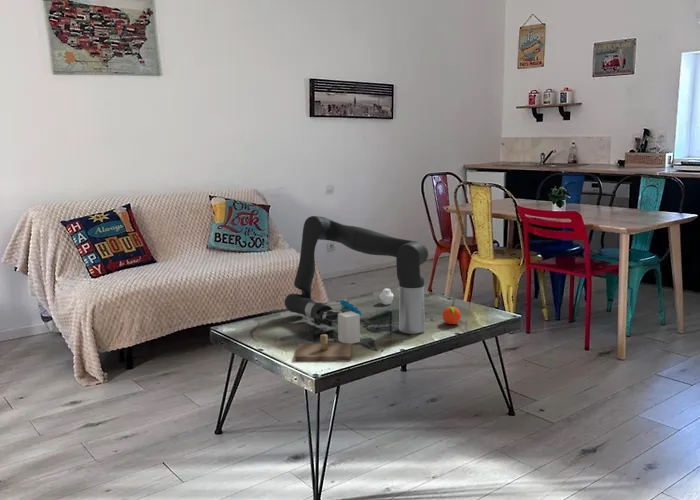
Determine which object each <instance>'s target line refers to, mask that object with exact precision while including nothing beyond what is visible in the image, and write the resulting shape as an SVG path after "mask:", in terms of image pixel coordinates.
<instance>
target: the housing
mask: <svg viewBox="0 0 700 500" xmlns="http://www.w3.org/2000/svg"><path fill="white" fill-rule="evenodd" d="M360 318H361V316H360V315H359V314H357V313H354V312H352V311H349V312H344V313H339V314H338V317H337V319H338V321H337V327H338V328H337V329H338V330H337V332H338V333H337V334H338V337H337V338H338V339H337V340H338V342H340V343H352V345H353V344H356V343H360V342H361V328H360V327H361V324H360V323H361V321H360Z"/></svg>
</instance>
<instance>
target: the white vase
mask: <svg viewBox="0 0 700 500" xmlns="http://www.w3.org/2000/svg"><path fill="white" fill-rule="evenodd" d="M394 296H395V295H394V294H393V292H392V291H391V289H390V288H383V289H382V292H381V293H380V294H379V298H380V301H381V303H382V304H383V305H385V306H386V305H390V304H392V302H393V299H394Z"/></svg>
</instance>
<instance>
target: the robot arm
mask: <svg viewBox="0 0 700 500" xmlns="http://www.w3.org/2000/svg"><path fill="white" fill-rule="evenodd" d="M301 235H302V236H301V237H302V239H301V245H300V246H301V247H300V257H299V261H298V267H297V270H296V274H295V278H294V282H293V285H294V287H295V288H296V289H298V290H300V292H301V294H299V293H289V294H288V295H286V297H285V299H284V306H285V309H287V310H288V311H289V312H291V313H295V314H299V315H303V316H305V317H306V318H309V319H310V321H311V323H313V324H314V325H317V326H321V325H323V326H328V327H333V322H335V321H336V322H338V314H339V313H344V312H348V311H345V310H343V309H342V308H340V309H339V310H333V308H332V306H331V305H329V304H327V303H323V302H321V301H318V300H315V299H313V298H312V285H313V281H314V277H315V273H316V261H315V251H316V246H317V243H318V241H319V240H321V241H328V242H329V241H330V242H335V243H340V244H342V245H343V246H345V247H347V248H348V249H350V250H353V251H355V252H358V253H362V254H366V255H371V256H387V257H388V256H389V257H393V258H395V259H396V263H395V264H396V277H397V278H396V279H397V280H398V283H399V284H398V306H399V307H398V317H399V318H398V331H399V332H400V333H403V334H420V333H421V334H422V333H425V332H426V331H425V326H426V325H425V322H426V321H425V318H426V317H425V315H426V314H425V313H426V312H425V311H426V308H425V277H423V276H422V275H421V267H420V266H422V265H423V264H424V263H425V262H426V261H427V260H428V258H429V250H428V248H427V247H426V245H425V244H423V243H422V242H420V241H417V240H411V239H410V240H409V239H403V238H398V237H394V236H391V235H388V234H385V233H381V232H379V231H378V232H377V231H375V230H372V229H369V228H365V227H364V228H363V227H360V226H355V225H346V224H342V223H340V222H337V221H334V220H332V219H329V218H327V217H324V216H319V215H313V216H309V217H307V218H306V219H305V221H304V223H303V227H302V234H301Z"/></svg>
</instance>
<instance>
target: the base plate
mask: <svg viewBox="0 0 700 500" xmlns="http://www.w3.org/2000/svg"><path fill="white" fill-rule="evenodd" d="M319 337H320V342H319V343H318V342H317V343H316V342H315V343H314V342H313V343H299V344H298V347H297V350H296V353H295V357H294V358H295V359H294V360H295V362H331V361H330V360H352V345H353V344H352V343H342V342H340V343H339V342H337V343H336V342H335V343H331V342H330V343H329V342H328V341H329V339H328V334H325V333H324V334H323V333H322V334H320V336H319Z"/></svg>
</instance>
